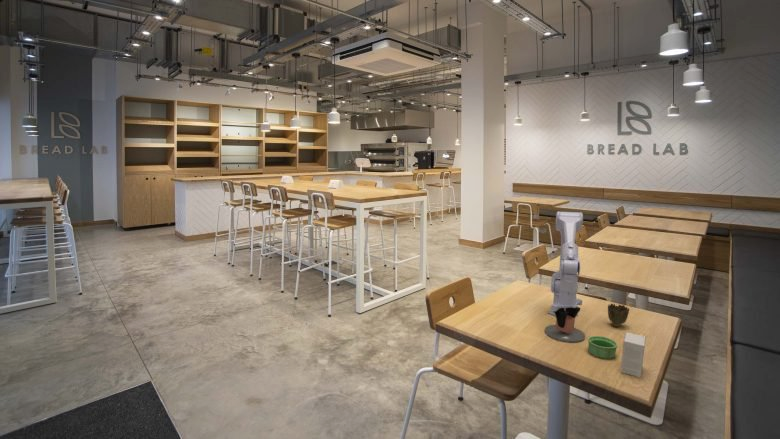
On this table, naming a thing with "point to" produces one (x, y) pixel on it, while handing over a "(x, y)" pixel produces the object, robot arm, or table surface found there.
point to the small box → (633, 354)
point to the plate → (565, 334)
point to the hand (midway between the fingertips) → (565, 325)
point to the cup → (617, 314)
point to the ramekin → (602, 347)
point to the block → (567, 324)
